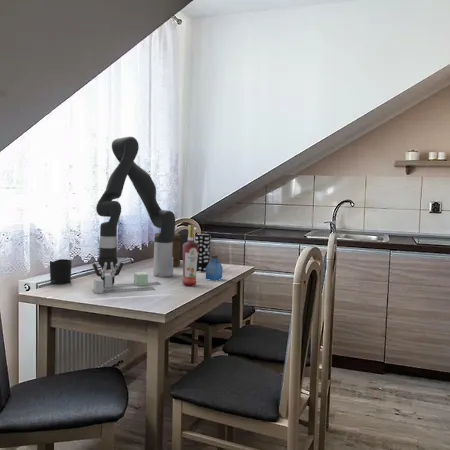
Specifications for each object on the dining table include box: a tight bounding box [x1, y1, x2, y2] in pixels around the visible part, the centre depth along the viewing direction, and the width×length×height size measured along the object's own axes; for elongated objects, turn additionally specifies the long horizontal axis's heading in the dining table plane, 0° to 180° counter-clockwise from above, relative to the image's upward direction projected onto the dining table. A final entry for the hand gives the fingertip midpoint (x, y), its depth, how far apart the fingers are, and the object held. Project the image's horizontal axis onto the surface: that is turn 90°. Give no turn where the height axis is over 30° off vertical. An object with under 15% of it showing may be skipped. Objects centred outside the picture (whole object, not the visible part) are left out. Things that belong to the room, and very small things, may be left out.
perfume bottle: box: [205, 254, 224, 281], centre depth 241 cm, size 6×6×12 cm
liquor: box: [181, 224, 198, 287], centre depth 224 cm, size 7×7×28 cm
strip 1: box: [92, 278, 157, 295], centre depth 205 cm, size 26×6×6 cm, turn 115°
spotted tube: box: [194, 233, 212, 273], centre depth 263 cm, size 8×8×20 cm
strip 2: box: [103, 273, 162, 289], centre depth 216 cm, size 26×6×6 cm, turn 115°
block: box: [133, 271, 149, 287], centre depth 218 cm, size 5×5×5 cm
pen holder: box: [49, 258, 73, 285], centre depth 219 cm, size 9×9×10 cm
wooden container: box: [154, 232, 181, 268], centre depth 276 cm, size 15×15×22 cm
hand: (107, 285), depth 212 cm, fingers closed on strip 2, 3 cm apart
